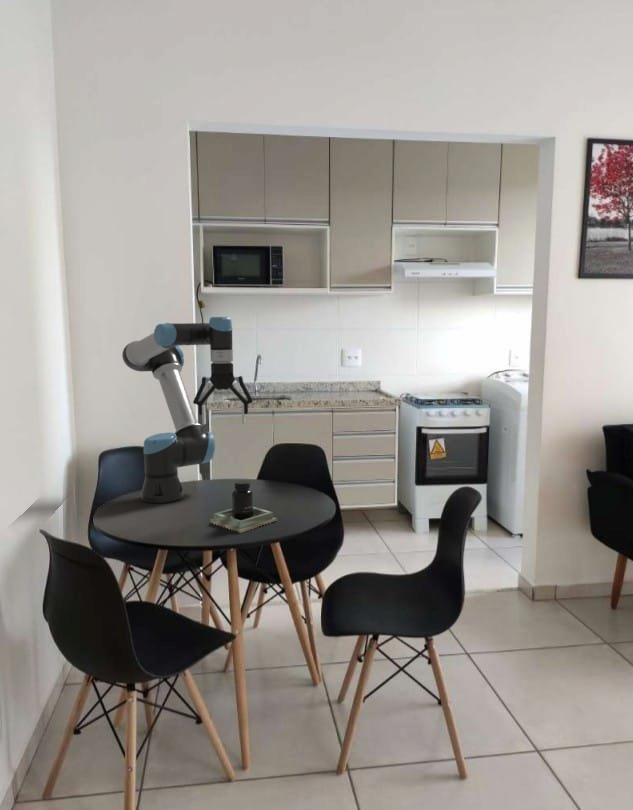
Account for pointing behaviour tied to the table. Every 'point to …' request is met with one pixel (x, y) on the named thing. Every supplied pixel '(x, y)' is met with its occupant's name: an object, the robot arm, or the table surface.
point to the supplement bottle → (242, 501)
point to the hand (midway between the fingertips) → (224, 423)
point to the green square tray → (241, 526)
